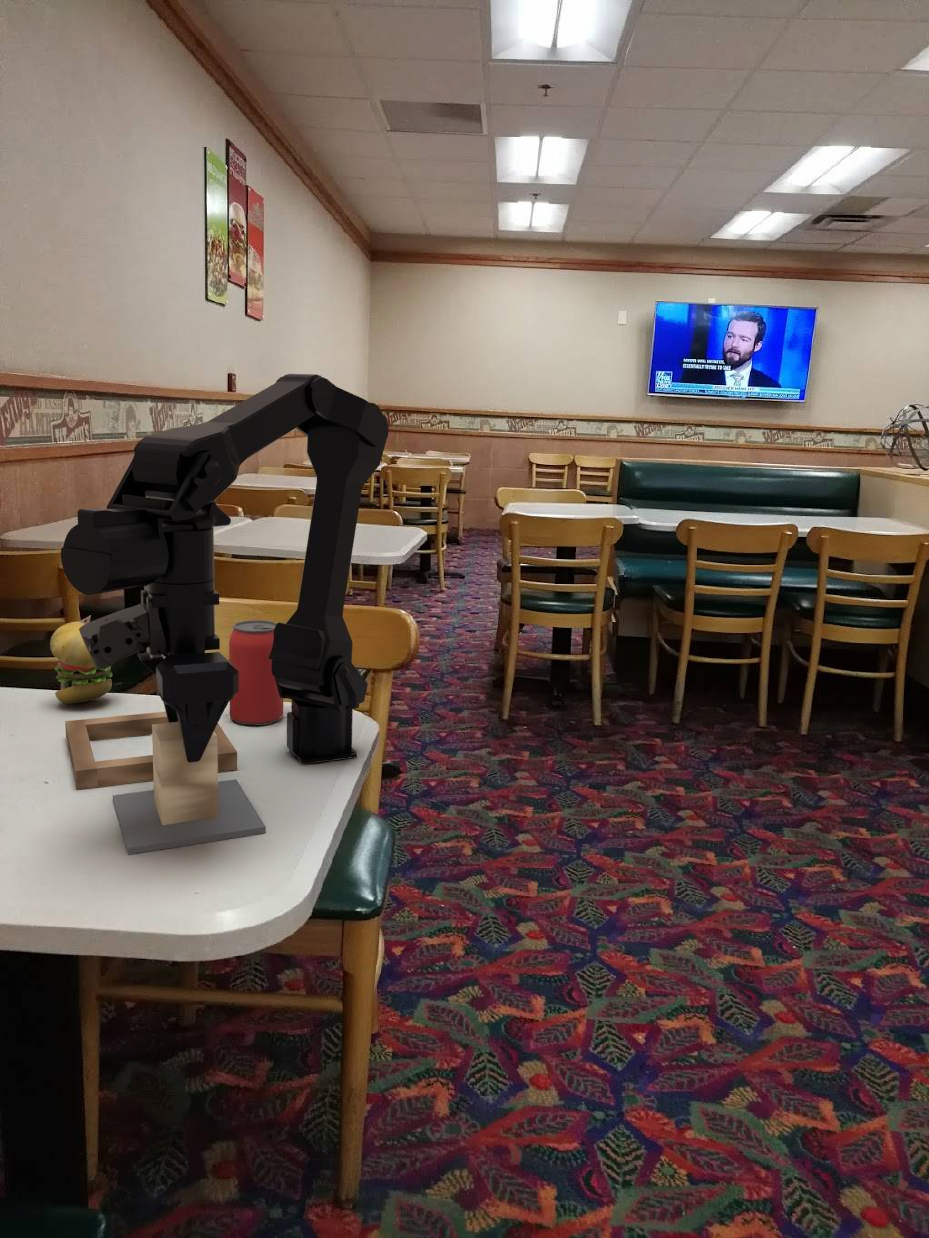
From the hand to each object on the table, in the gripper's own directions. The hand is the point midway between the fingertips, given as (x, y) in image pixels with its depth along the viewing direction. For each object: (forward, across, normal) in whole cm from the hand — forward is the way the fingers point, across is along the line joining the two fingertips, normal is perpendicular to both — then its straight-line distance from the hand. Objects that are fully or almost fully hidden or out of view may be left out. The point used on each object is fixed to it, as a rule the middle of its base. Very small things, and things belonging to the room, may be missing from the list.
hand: (184, 744), depth 86 cm
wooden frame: (+7, -18, -1) cm, 20 cm away
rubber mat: (+7, 0, 0) cm, 7 cm away
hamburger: (+8, -38, -6) cm, 39 cm away
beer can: (+7, -26, +13) cm, 30 cm away
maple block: (+7, 0, 0) cm, 7 cm away
